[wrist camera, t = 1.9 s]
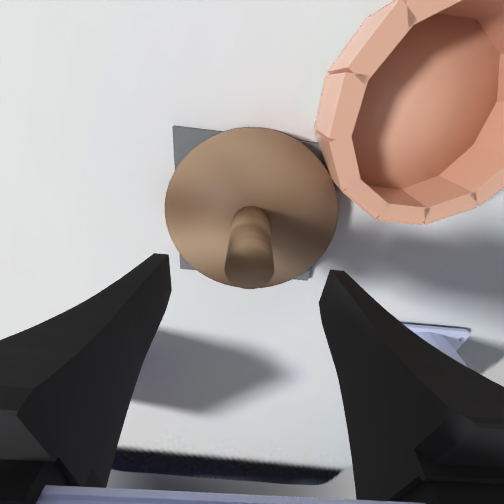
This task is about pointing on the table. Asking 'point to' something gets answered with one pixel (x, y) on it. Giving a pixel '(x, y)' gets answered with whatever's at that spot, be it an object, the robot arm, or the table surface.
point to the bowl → (418, 110)
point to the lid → (251, 208)
